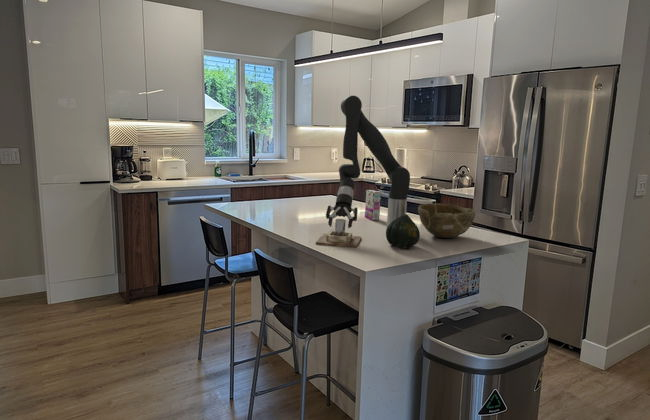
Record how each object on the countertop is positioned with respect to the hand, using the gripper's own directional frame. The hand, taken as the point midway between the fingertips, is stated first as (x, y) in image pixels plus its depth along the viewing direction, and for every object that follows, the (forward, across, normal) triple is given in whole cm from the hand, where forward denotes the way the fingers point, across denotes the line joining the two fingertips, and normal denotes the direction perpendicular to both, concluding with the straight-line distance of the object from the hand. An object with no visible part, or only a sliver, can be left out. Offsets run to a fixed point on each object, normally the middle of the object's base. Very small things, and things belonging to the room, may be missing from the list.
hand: (339, 226), depth 201 cm
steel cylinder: (+3, 0, +5) cm, 6 cm away
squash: (+4, +28, +7) cm, 29 cm away
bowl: (-15, +48, +25) cm, 56 cm away
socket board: (+4, 0, +6) cm, 7 cm away
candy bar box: (-39, +9, +49) cm, 63 cm away
